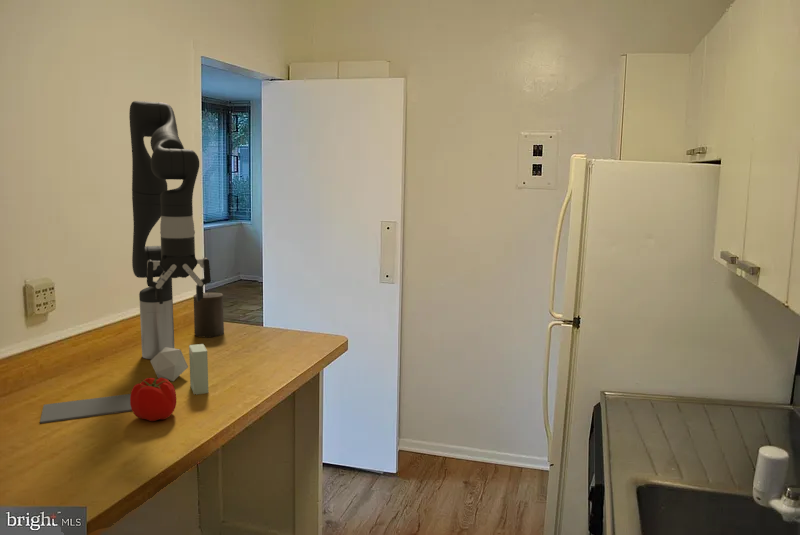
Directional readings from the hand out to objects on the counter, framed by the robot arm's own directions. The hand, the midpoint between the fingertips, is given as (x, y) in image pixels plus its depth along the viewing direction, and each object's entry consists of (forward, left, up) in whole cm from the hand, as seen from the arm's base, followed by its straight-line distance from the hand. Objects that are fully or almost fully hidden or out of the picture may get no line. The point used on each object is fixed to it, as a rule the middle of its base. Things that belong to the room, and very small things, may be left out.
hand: (179, 302), depth 149 cm
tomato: (+9, -7, -25) cm, 27 cm away
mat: (-2, -20, -24) cm, 32 cm away
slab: (-6, +5, -24) cm, 26 cm away
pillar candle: (-61, +16, -25) cm, 67 cm away
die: (-18, -1, -25) cm, 30 cm away
